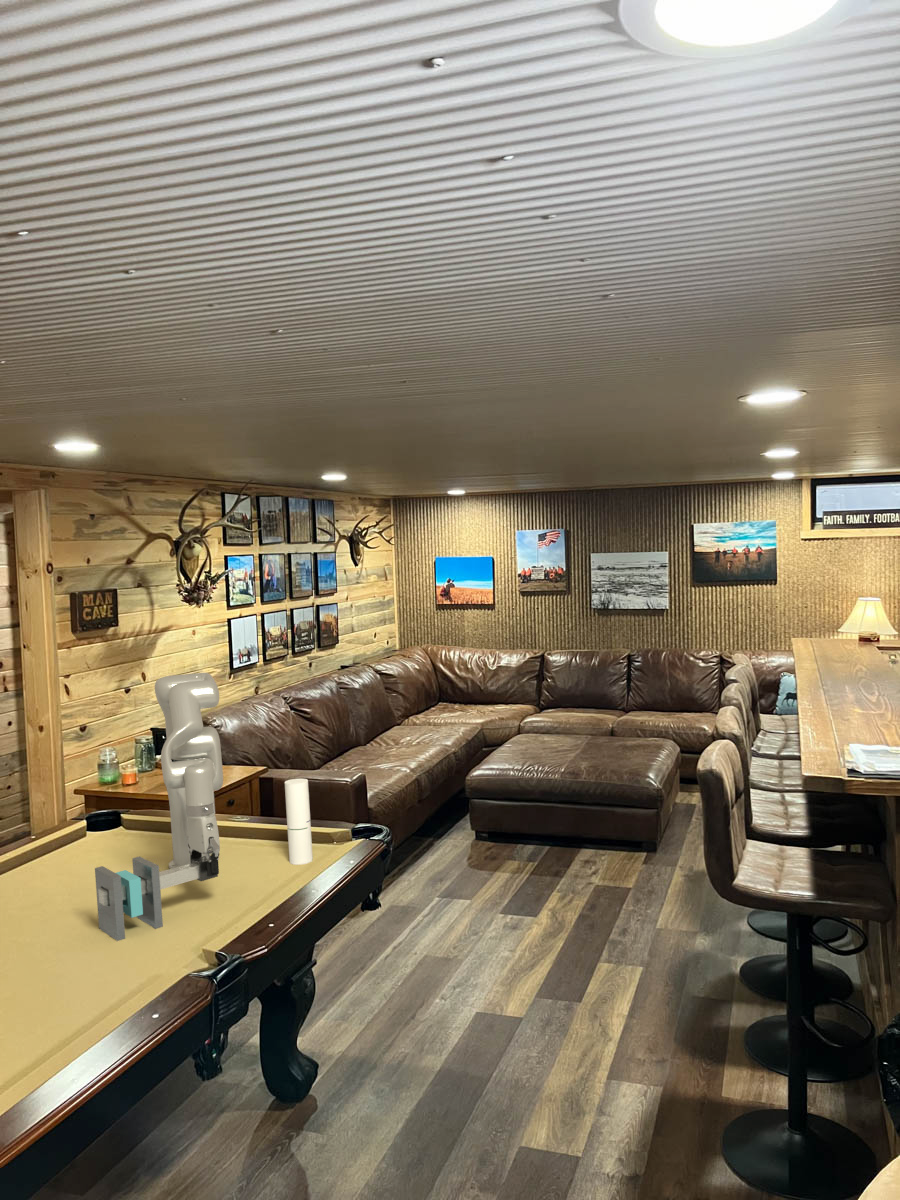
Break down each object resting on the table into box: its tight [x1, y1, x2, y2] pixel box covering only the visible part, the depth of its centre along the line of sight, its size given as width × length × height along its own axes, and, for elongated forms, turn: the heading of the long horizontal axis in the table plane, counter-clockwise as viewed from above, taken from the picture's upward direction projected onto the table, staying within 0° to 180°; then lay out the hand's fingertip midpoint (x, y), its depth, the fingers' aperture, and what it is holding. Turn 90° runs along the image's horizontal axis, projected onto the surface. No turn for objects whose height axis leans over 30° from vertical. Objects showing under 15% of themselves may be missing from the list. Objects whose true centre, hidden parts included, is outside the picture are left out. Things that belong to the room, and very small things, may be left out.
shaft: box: [98, 856, 219, 906], centre depth 245 cm, size 31×5×5 cm, turn 132°
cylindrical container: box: [284, 778, 314, 866], centre depth 286 cm, size 7×7×25 cm
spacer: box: [115, 869, 143, 919], centre depth 239 cm, size 3×10×10 cm, turn 42°
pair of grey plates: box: [94, 856, 164, 942], centre depth 239 cm, size 12×12×16 cm
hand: (204, 871), depth 253 cm, fingers open, 9 cm apart
